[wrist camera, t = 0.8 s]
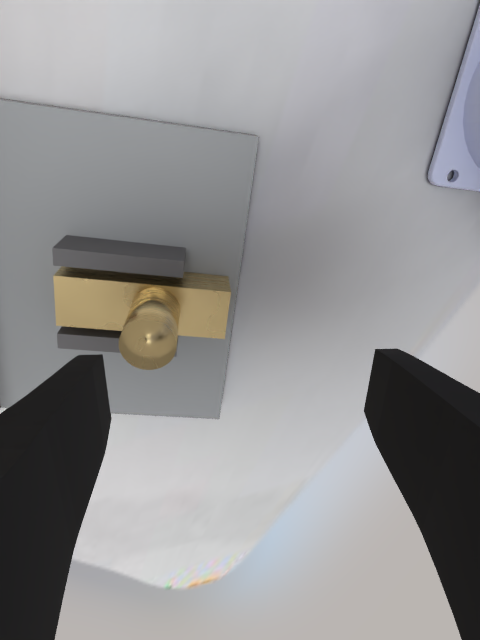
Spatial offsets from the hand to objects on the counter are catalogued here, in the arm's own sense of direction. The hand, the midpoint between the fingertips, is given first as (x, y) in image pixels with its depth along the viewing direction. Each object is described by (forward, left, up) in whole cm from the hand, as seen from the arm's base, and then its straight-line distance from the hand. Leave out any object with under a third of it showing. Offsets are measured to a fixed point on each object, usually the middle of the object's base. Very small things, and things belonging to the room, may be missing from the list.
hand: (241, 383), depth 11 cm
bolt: (+3, +1, -9) cm, 9 cm away
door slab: (+5, +1, -10) cm, 11 cm away
